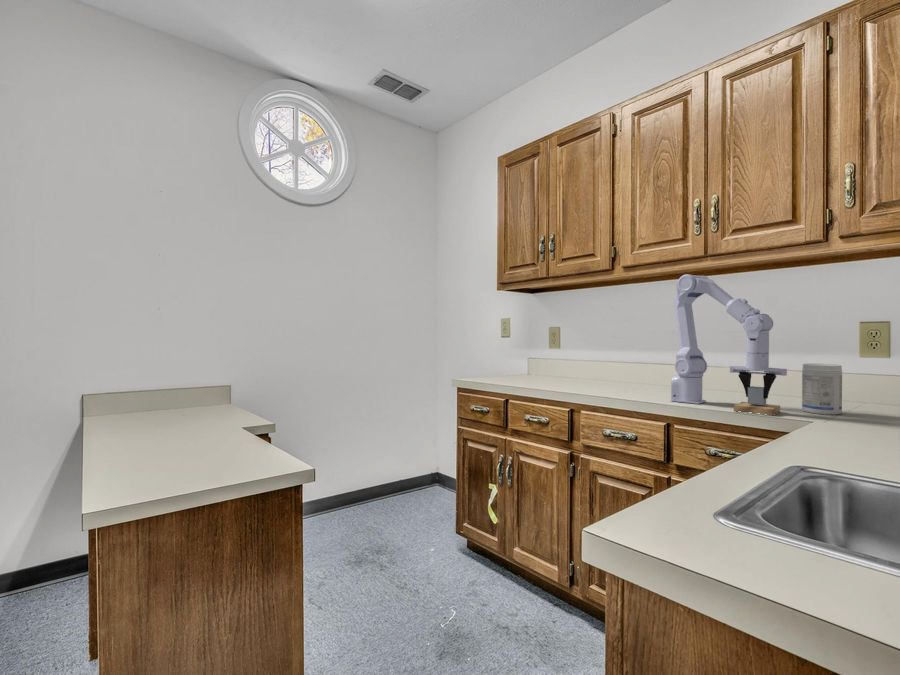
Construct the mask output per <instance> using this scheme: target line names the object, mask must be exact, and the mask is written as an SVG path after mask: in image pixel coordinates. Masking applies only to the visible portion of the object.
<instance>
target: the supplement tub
mask: <svg viewBox="0 0 900 675" xmlns="http://www.w3.org/2000/svg"><path fill="white" fill-rule="evenodd" d="M801 375H802V376H801V378H802V379H801V381H802V382H801V383H802V384H801V385H802V386H801V390H802V391H801V408H802V409H801V410H802V411H804V412H805V413H810V414H817V415H827V416H828V415H829V416H830V415H831V416H834V415H835V416H836V415H837V416H838V415H840V414H841V413H842V412H843V370H842V365H841V364H835V363H834V364H833V363H813V362H812V363H803V364H802V372H801Z"/></svg>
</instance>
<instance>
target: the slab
mask: <svg viewBox="0 0 900 675" xmlns="http://www.w3.org/2000/svg"><path fill="white" fill-rule="evenodd" d="M734 411H741V412H752V413H760V414H767V415H774V414H775V415H777V414H779V413H781V405H779V404H771V403H770V404H768V403H766V404H764V405H757V404H748V401H741V402H738V403H735V404H733V412H734ZM741 412H740V413H741ZM778 412H779V413H778ZM776 413H777V414H776ZM767 415H766V416H767ZM775 415H774V416H775Z"/></svg>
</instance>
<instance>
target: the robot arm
mask: <svg viewBox="0 0 900 675" xmlns="http://www.w3.org/2000/svg"><path fill="white" fill-rule="evenodd" d="M675 288H676V290H675V294H674V298H673V304H674V305H673V306H674V312H675V313H674V314H675V320H676V328H677V336H678V342H679V351H678V352H677V353H676V354H675V363H674V369H675V372H676V373H677V374H678V375H673V376H672V378H671V381H670V382H671V383H670V400H669V401H670V402H679V403H686V404H687V403H688V404H697V405H700V404H703V403H705V402H707V400H706V399H703V377H704V373H706V372H707V370H708V363H707V361H706V359H705V357H704V353H703V352H702V351H701V350H700V349H699V348H698V346H699V345H698V341H697V334H696V325H695V318H694V312H693V311H694V310H693V303H694V302H695V301H696V300H697V299H698V298H700V297H702V295H704V294H707V295H708V296H710V297H711V298H713V299H714V300H715V301H716V302H718V303H720V304H722V305H723V306H724V307H725V311H726V313H727V314H728V315H730V316H731V317H732V318H734V319H735V320H736V321H737V322H738V323H739V324H741V325H742V328H743V330H744V331H745V335H746V358H745V359H746V365H745V366H739V365H738V366H736V365H735V366H734V365H731V366H729V373H734V374H735V373H737V374H738V378H739V380H740V382H741V383H742V386H743V388H744V391H745V397H746V398H748V387H751V383H752V382H751V380H752V375H754V374H755V375H763V376H762V379H763V387H764V399H766V400H767V399H768V398H769V394H770V392H771V391H770V390H771V388H772V385H773V384H774V382H775V380H776V379H777V376H783V377H785V376H787V375H788V369H787V368H776V367H770V366H769V364H770V363H769V362H770V360H769V359H770V357H769V356H770V331H771V330H772V329H773V327H774V321H773V318H772V317H771V316H770V315H769V314H767V313H761V310H759V309H758V308H754V307H753V306H751V305H750V304H749V303H748V302H749V301H748V300H747V299H745V298H734V297H733V296H731V295H730V294H729V293H728V292H726V291H725V290H724V289H723V288H721V287H720V286H719V285H718V284H717V283H715V281H714V280H713V279H710V278H709V277H708V276H707V275H694V274H689V273H687V274H683V275H681V276H680V277H679V279H678V280H676V282H675Z"/></svg>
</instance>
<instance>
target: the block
mask: <svg viewBox="0 0 900 675" xmlns="http://www.w3.org/2000/svg"><path fill="white" fill-rule="evenodd" d="M747 402H748V404H757V405H764V404H767V399H764V386H752V385H750V387H748V397H747Z"/></svg>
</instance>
